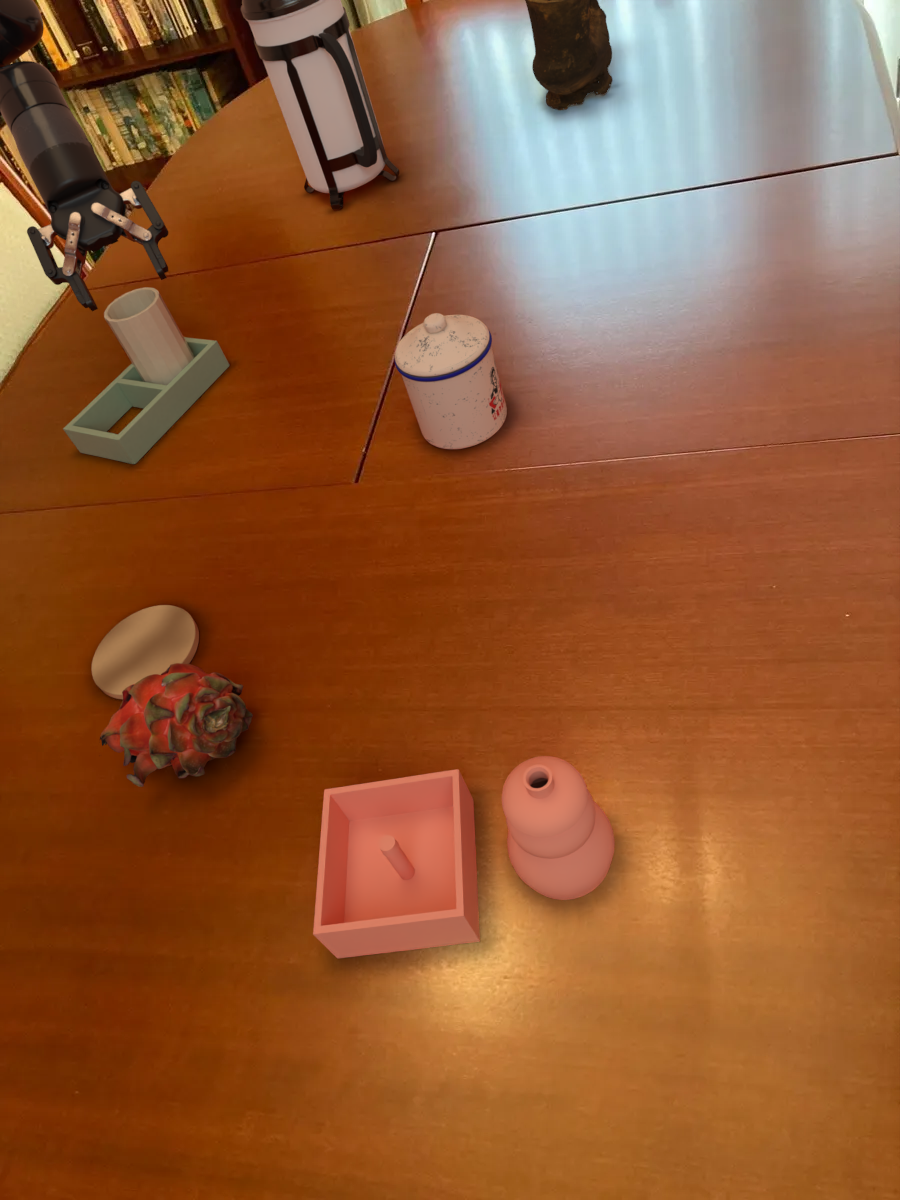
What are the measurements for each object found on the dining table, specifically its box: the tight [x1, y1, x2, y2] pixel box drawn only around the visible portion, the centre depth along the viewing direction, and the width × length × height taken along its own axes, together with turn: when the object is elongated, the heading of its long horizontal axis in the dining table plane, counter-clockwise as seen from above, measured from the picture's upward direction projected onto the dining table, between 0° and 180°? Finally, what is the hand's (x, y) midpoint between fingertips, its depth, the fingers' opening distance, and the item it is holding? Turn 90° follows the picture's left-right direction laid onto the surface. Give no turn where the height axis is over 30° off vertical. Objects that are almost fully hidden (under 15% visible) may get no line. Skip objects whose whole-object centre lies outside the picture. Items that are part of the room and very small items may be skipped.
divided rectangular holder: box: [62, 336, 231, 465], centre depth 101 cm, size 9×18×4 cm, turn 151°
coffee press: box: [240, 0, 400, 211], centre depth 117 cm, size 17×16×30 cm
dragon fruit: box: [98, 663, 254, 788], centre depth 66 cm, size 8×8×12 cm
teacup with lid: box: [394, 312, 508, 450], centre depth 83 cm, size 12×9×12 cm
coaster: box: [91, 604, 200, 700], centre depth 76 cm, size 10×10×1 cm
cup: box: [103, 286, 195, 385], centre depth 100 cm, size 6×6×11 cm
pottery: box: [312, 755, 616, 959], centre depth 53 cm, size 18×10×10 cm, turn 91°
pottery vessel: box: [524, 0, 613, 111], centre depth 123 cm, size 25×11×20 cm, turn 172°
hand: (128, 292), depth 100 cm, fingers open, 8 cm apart
